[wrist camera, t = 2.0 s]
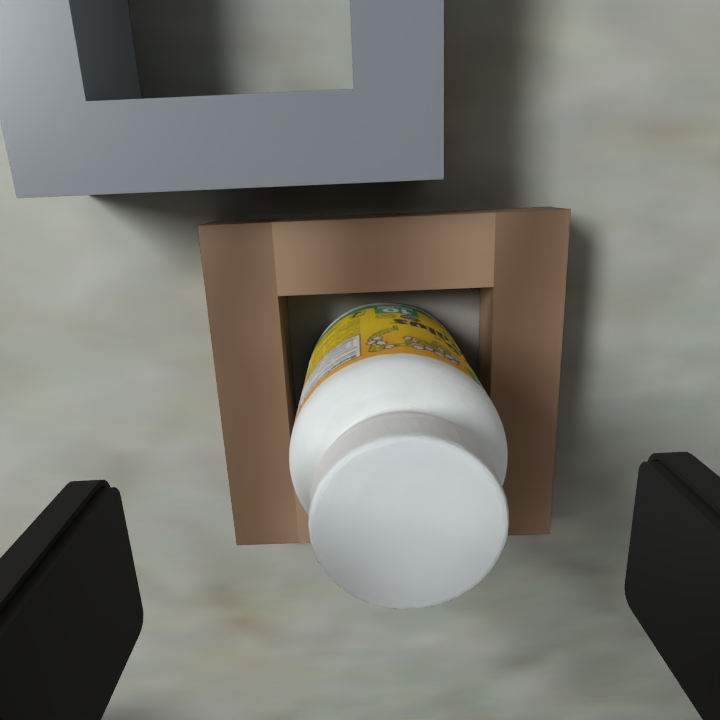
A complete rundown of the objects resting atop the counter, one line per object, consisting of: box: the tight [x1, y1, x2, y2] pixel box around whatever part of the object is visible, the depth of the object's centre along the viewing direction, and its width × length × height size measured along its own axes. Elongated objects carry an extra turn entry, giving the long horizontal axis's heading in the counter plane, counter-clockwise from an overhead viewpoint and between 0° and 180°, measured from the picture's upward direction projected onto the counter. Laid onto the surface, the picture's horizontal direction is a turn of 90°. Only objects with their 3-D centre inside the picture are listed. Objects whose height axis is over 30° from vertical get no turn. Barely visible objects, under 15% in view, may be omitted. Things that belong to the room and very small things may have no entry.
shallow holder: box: [197, 207, 571, 545], centre depth 19 cm, size 11×11×2 cm
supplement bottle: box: [289, 303, 509, 609], centre depth 16 cm, size 5×5×10 cm
